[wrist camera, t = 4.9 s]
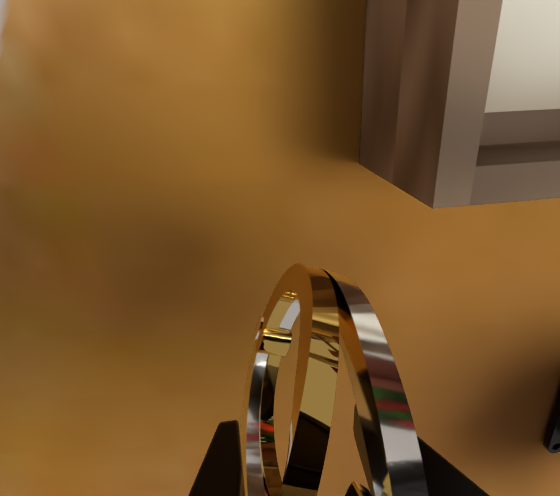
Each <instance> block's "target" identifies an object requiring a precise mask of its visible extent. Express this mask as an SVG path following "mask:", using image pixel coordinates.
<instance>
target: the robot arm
mask: <svg viewBox="0 0 560 496" xmlns="http://www.w3.org/2000/svg"><path fill="white" fill-rule="evenodd" d="M353 429H354V437H355V441H356V444H357V448H358V451H359V455H360V458H361V462H362V465H363V469H364V472H365V475H366V479H367V482H368V486H369V489H370V493H371V495H372V496H375V492H374V487H373V481H372V476H371V471H370V466H369V461H368V456H367V451H366V446H365V441H364V437H363V432H362V428H361V423H360V419H359V415H358V410H357V406H356V404H355V409H354V427H353ZM416 436H417V435H416ZM417 440H418V444H419V449H420V453H421V458H422V463H423V468H424V473H425V478H426V484H427V490H428V496H489V495H488V494H487V493H486V492H484V491H483V490H482V489H481V488H480V487H478V486H477V485H476V484H475V483H474V482H472V481H471V480H470V479H469V478H467V477H466V476H465V475H464V474H463V473H461V472H460V471H459V470H458V469H457V468H455V467H454V466H453V465H452V464H450V463H449V462H448V461H447V460H446V459H444V458H443V457H442V456H441V455H440V454H438V453H437V452H436V451H435V450H433V449H432V448H431V447H430V446H429V445H427V444H426V443H425V442H424V441H423V440H421V439H420V438H419V437H418V436H417ZM543 445H544V447H545V448H546V449H547V450H548V451H549V452H550V453H557V452H560V391H559V394H558V397H557V400H556V403H555V407H554V410H553V413H552V416H551V419H550V423H549V426H548V429H547V432H546V435H545V438H544V442H543ZM188 496H245V487H244V476H243V465H242V454H241V443H240V433H239V423H238V421H237V420H232V421H225V422H221V423H220V424H219V425H218V427H217V429H216V432H215V434H214V436H213V439H212V441H211V443H210V446H209V448H208V450H207V453H206V455H205V458H204V460H203V462H202V465H201V467H200V469H199V472H198V474H197V476H196V479H195V481H194V484H193V486H192V488H191V491H190V493H189V495H188Z"/></svg>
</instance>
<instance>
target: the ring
mask: <svg viewBox="0 0 560 496" xmlns="http://www.w3.org/2000/svg"><path fill="white" fill-rule="evenodd" d="M299 312H300V335H299V348H298V359H297V369H296V378H295V388H294V397H293V407H292V417H291V427H290V438H289V448H288V456H287V462H286V468H285V473H284V477H283V482H282V481H281V477H280V473H279V468H278V463H277V457H276V450H275V441H274V424H273V410H274V394H275V385H276V379H277V373H278V368H279V364H280V360H281V356H283V357H284V356H285V355H286V354H287V352H288V349H289V347H290V343H291V339H292V333H291V331H290V330H291V328H292V325H293V323H294V321H295V319H296V317H297V315H298V314H299ZM253 338H254V339H255V341H254V345H253V349H252V354H251V358H250V363H249V368H248V373H247V379H246V385H245V392H244V400H243V409H242V419H241V432H240V443H241V454H242V465H243V476H244V487H245V496H317V492H318V488H319V483H320V479H321V474H322V470H323V465H324V460H325V455H326V450H327V445H328V439H329V433H330V427H331V421H332V415H333V408H334V400H335V392H336V382H337V371H338V356H339V342H340V345H341V349H342V352H343V356H344V360H345V363H346V367H347V371H348V374H349V378H350V382H351V386H352V390H353V394H354V398H355V402H356V406H357V410H358V415H359V419H360V423H361V428H362V432H363V437H364V441H365V446H366V451H367V456H368V461H369V466H370V471H371V476H372V481H373V487H374V492H375V496H428V490H427V484H426V478H425V473H424V468H423V463H422V458H421V453H420V449H419V444H418V440H417V436H416V431H415V428H414V424H413V420H412V416H411V412H410V409H409V405H408V402H407V399H406V395H405V392H404V389H403V386H402V382H401V379H400V376H399V373H398V371H397V368H396V365H395V362H394V359H393V356H392V354H391V351H390V348H389V346H388V343H387V341H386V338H385V336H384V333H383V331H382V328H381V326H380V324H379V321H378V319H377V317H376V315H375V313H374V311H373V309H372V307H371V305H370V303H369V301H368V300H367V298H366V296H365V295H364V293H363V292H362V291H361V289H360V288H359V287H358V286H357V285H356V284H355V283H354V282H353V281H352V280H351V279H350V278H348V277H347V276H345V275H343V274H340V273H336V272H333V271H329V270H325V269H321V268H317V267H313V266H308V265H303V264H294V265H292V266H291V267H289V268H288V269H287V270H286V271H285V273H284V274H283V275H282V277H281V278H280V280H279V282H278V283H277V285H276V287H275V289H274V291H273V293H272V295H271V297H270V299H269V302H268V304H267V307H266V309H265V312H264V314H263V316H260V317H259V318H258V321H257V324H256V327H255V331H254V336H253ZM345 496H372V495H371V494H370V492H369V490H368V489H366V488H365V487H364V486H362V485H361V484H359V483H357V482H355V481H353V482H352V483H351V485H350V487H349V488H348V490H347V493H346V495H345Z"/></svg>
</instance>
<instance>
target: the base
mask: <svg viewBox="0 0 560 496" xmlns="http://www.w3.org/2000/svg"><path fill="white" fill-rule="evenodd" d="M359 164H361V165H362V166H364V167H365V168H367V169H369V170H370V171H372V172H374V173H375V174H377V175H379V176H380V177H382V178H383V179H385V180H387V181H388V182H390V183H392V184H393V185H395V186H397V187H398V188H400V189H401V190H403V191H405V192H406V193H408V194H410V195H411V196H413V197H415V198H416V199H418V200H419V201H421V202H423V203H424V204H426V205H428V206H429V207H431V208H433V209H434V208H446V207H457V206H469V205H481V204H492V203H504V202H516V201H527V200H539V199H551V198H560V0H367V11H366V32H365V53H364V75H363V96H362V117H361V139H360V160H359Z"/></svg>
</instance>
